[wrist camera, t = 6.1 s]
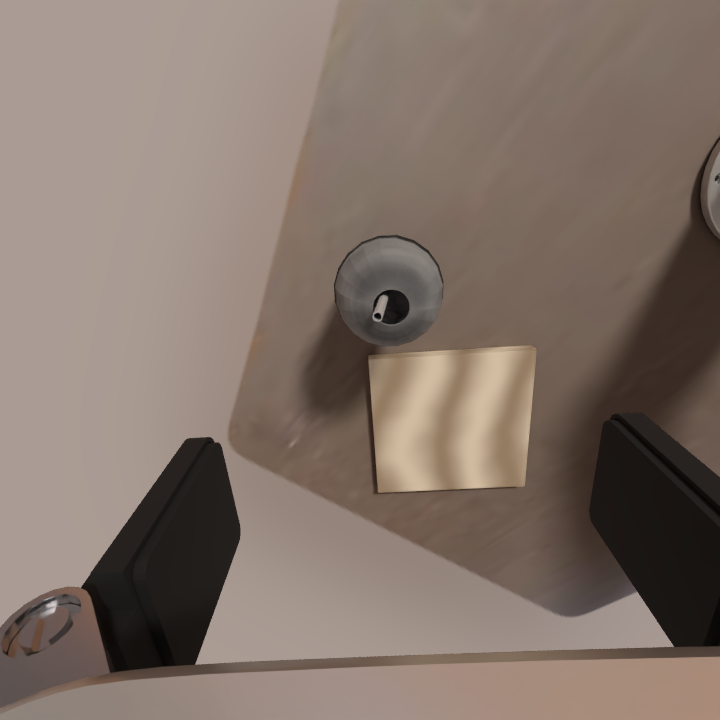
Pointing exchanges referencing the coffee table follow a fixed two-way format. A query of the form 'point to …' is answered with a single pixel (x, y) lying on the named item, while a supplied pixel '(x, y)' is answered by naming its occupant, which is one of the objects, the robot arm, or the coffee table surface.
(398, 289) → the beverage cup
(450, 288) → the coffee table surface
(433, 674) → the robot arm
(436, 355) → the birch board
